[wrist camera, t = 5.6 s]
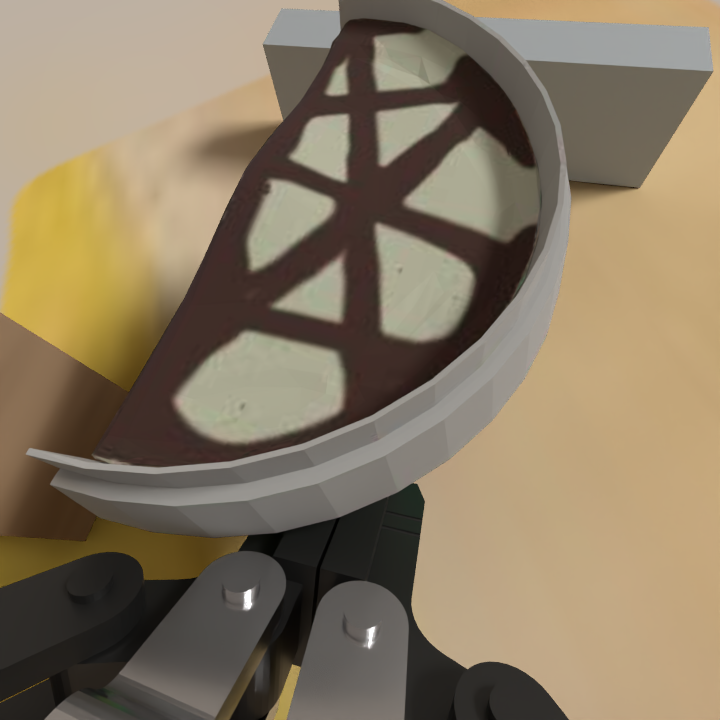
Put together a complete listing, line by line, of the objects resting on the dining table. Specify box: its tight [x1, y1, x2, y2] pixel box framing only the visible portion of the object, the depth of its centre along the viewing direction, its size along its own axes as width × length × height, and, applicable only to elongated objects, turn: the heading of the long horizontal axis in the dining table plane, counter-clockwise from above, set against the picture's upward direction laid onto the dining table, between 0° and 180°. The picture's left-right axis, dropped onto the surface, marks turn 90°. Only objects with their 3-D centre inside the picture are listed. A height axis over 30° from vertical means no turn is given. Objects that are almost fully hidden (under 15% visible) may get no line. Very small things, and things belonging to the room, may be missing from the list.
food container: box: [26, 0, 571, 538], centre depth 11 cm, size 12×6×10 cm, turn 162°
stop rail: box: [263, 9, 713, 188], centre depth 19 cm, size 16×2×5 cm, turn 76°
